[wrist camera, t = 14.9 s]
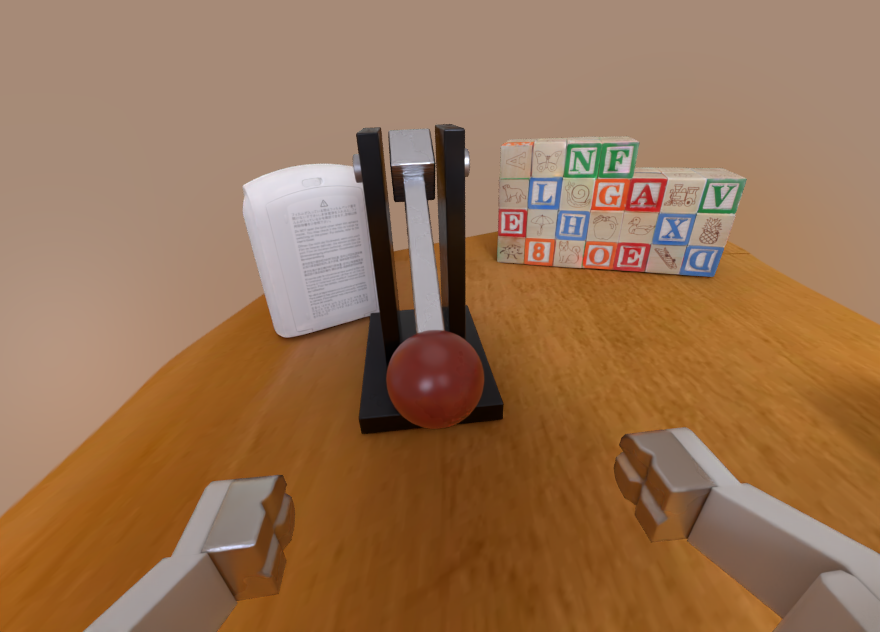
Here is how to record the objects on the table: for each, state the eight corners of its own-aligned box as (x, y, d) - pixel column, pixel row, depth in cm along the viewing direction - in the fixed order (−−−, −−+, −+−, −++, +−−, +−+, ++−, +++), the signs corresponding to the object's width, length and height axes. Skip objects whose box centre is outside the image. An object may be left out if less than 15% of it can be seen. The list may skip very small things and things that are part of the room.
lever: (485, 433, 15) (500, 406, 12) (393, 443, 14) (383, 418, 11) (441, 174, 22) (443, 116, 19) (380, 178, 22) (372, 119, 19)
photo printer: (382, 292, 37) (365, 155, 31) (402, 309, 33) (387, 160, 27) (271, 323, 32) (225, 170, 26) (281, 347, 29) (232, 177, 23)
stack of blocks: (697, 257, 42) (736, 133, 36) (714, 279, 37) (763, 139, 30) (503, 244, 48) (509, 137, 42) (495, 262, 42) (499, 142, 36)
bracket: (502, 419, 22) (520, 131, 14) (361, 434, 21) (304, 141, 14) (467, 317, 32) (467, 120, 25) (372, 325, 31) (343, 125, 24)
